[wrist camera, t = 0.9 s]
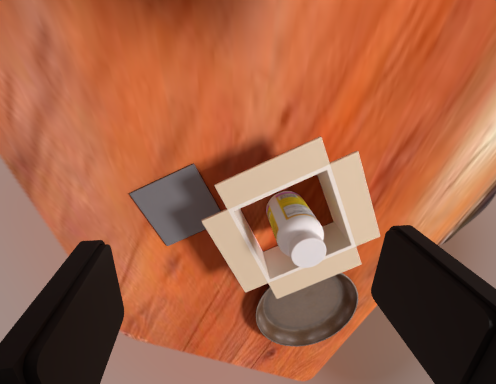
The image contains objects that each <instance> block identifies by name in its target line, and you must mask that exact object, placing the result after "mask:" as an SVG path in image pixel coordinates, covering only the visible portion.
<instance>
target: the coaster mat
mask: <svg viewBox="0 0 496 384" xmlns="http://www.w3.org/2000/svg"><path fill="white" fill-rule="evenodd" d="M130 196H131V197H132V198H133V200H134V201H135V202H136V204H137V205H138V207H139V208H140V209H141V211H142V212H143V213H144V215H145V216H146V218H147V219H148V220H149V222H150V223H151V225H152V226H153V227H154V229H155V230H156V231H157V233H158V234H159V236H160V237H161V238H162V240H163V241H164V242H165V244H166V245H167V246H169V245H171V244H174V243H176V242H178V241H180V240H183V239H185V238H187V237H189V236H192V235H194V234H196V233H198V232H201V231H203V230H205V229H206V228H205V226H204V225H203V223H202V220H203V219H205V218H207V217H209V216H212V215H214V214H216V213H218V212H221V211H220V209H219V207H218V205H217V204H216V202H215V200H214V198H213V197H212V195H211V193H210V191H209V189H208V188H207V186H206V184H205V182H204V181H203V179H202V177H201V175H200V174H199V172H198V170H197V168H196V167H195V165H194V164H191V165H189V166H187V167H185V168H183V169H181V170H179V171H176V172H174V173H172V174H170V175H168V176H166V177H164V178H161V179H159V180H157V181H155V182H153V183H151V184H148V185H146V186H144V187H142V188H140V189H138V190H136V191H133V192H131V193H130Z"/></svg>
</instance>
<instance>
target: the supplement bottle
mask: <svg viewBox="0 0 496 384" xmlns="http://www.w3.org/2000/svg"><path fill="white" fill-rule="evenodd" d="M266 213H267V217H268V220H269V222H270V225H271V228H272V230H273V233H274V236H275V238H276V241H277V244H278V246H279V248H280V250H281V251H282V252H283V253H284V254H285V255H287V256H289V257H291V259H292V261H293V263H294V264H295V265H297V266H299V267H302V268H309V267H313V266H315V265H317V264H319V263H320V262H321V261H322V260H323V259H324V257H325V255H326V246H325V244H324V242H323V239H324V231H323V228H322V226H321V224H320V223H319V221H318V220H317V218H316V217H315V216H314V214H313V213H312V211H311V210H310V208H309V207H308V205H307V204H306V203H305V201H304V200H303V198H302V197H301V196H300V195H299V194H297V193H295V192H292V191H282V192H279V193H277V194H275V195H274V196H273V197H272V198H271V199H270V200H269V202H268V204H267V208H266Z"/></svg>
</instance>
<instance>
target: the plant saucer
mask: <svg viewBox="0 0 496 384" xmlns="http://www.w3.org/2000/svg"><path fill="white" fill-rule="evenodd" d="M357 304H358V292H357V289H356V287H355V285H354V283H353V282H352V281H351V279H350V278H348V277H347V276H346V275H344V274H343V273H339V274H337V275H335V276H332V277H330V278H327V279H325V280H322V281H320V282H318V283H315V284H313V285H310V286H308V287H305V288H303V289H301V290H298V291H296V292H293V293H291V294H288V295H286V296H284V297H281V298H279V299H277V298H276V297H275V295H274V293H273V291H272V289H271V287H270V286H269V287H268V288H267V290H266V291H265V292H264V294H263V295H262V297H261V299H260V301H259V303H258V306H257V309H256V322H257V325H258V328H259V330H260V331H261V333H262V334H263V335H264V336H265V337H266V338H268V339H269V340H271V341H273V342H275V343H277V344H280V345H285V346H307V345H311V344H315V343H318V342H321V341H323V340H326V339H328V338H329V337H331V336H333V335H335V334H336V333H337V332H339V331H340V330H341V329H342V328H344V327H345V326H346V325H347V323H348V322H349V321H350V320H351V318H352V317H353V315H354V313H355V311H356V308H357Z"/></svg>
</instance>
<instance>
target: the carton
mask: <svg viewBox="0 0 496 384" xmlns="http://www.w3.org/2000/svg"><path fill="white" fill-rule="evenodd" d="M314 175H317V176H318V178H319V181H320V184H321V187H322V190H323V193H324V196H325V199H326V201H327V204H328V207H329V210H330V213H331V216H332V219H333V222H332V223H330V224H328V225H325V226H323V227H322V228H323V231H324V239H323V242H324V244H325V246H326V255H325V257H324V259H323V260H322V261H321V262H320V263H319V264H317V265H315V266H313V267H309V268H302V267H299V266H297V265H295V264H294V263H293V261H292V259H291V257H289V256H287V255H285V254H284V253H283V252H282V251H281V250H280V248H279V246H276V247H274V248H271V249H269V250H267V251H264V252H263V251H262V249H261V247H260V245H259V243H258V241H257V239H256V238H255V236H254V234H253V232H252V230H251V228H250V226H249V224H248V222H247V220H246V219H245V217H244V215H243V213H242V211H241V209H240V208H242V207H245V206H247V205H249V204H251V203H254V202H256V201H258V200H260V199H263V198H265V197H267V196H269V195H272V194H274V193H276V192H278V191H281V190H283V189H285V188H287V187H290V186H292V185H294V184H296V183H299V182H301V181H303V180H305V179H308V178H310V177H312V176H314ZM214 186H215V188H216V189H217V191H218V193H219V195H220V197H221V199H222V200H223V202H224V204H225V206H226V208H227V209H225V210H223V211H221V212H218V213H216V214H214V215H212V216H209V217H207V218H205V219H203V220H202V223H203V225H204V226H205V228H206V230H207V231H208V233H209V234H210V236H211V238H212V239H213V241H214V243H215V244H216V246H217V247H218V249H219V251H220V252H221V254H222V255H223V257H224V259H225V260H226V262H227V264H228V265H229V267H230V268H231V270H232V272H233V273H234V275H235V277H236V278H237V280H238V281H239V283H240V285H241V286H242V288H243V289H244V291H245V293H246V292H248V291H251V290H253V289H255V288H258V287H260V286H263V285H265V284H267V283H268V284H269V286H270V287H271V289H272V291H273V293H274V295H275V297H276V298H277V299H279V298H281V297H284V296H286V295H288V294H291V293H293V292H296V291H298V290H301V289H303V288H305V287H308V286H310V285H313V284H315V283H318V282H320V281H322V280H325V279H327V278H330V277H332V276H335V275H337V274H339V273H342V272H344V271H347V270H349V269H352V268H354V267H357V266H359V265H361V261H360V257H359V254H358V251H357V248H356V246H358V245H361V244H363V243H366V242H368V241H370V240H373V239H375V238H377V237H380V233H379V229H378V225H377V222H376V218H375V214H374V210H373V206H372V202H371V198H370V194H369V191H368V187H367V183H366V179H365V175H364V171H363V167H362V164H361V160H360V156H359V152H358V151H355V152H353V153H351V154H348V155H346V156H344V157H342V158H339V159H337V160H335V161H333V162H330V163H329V159H328V156H327V153H326V150H325V147H324V144H323V141H322V137H321V136H320V137H318V138H315V139H313V140H311V141H309V142H307V143H304V144H302V145H300V146H298V147H296V148H293V149H291V150H289V151H287V152H285V153H282V154H280V155H278V156H276V157H274V158H272V159H269V160H267V161H265V162H263V163H261V164H258V165H256V166H254V167H252V168H250V169H247V170H245V171H243V172H241V173H239V174H236V175H234V176H232V177H230V178H228V179H225V180H223V181H221V182H219V183H217V184H214Z"/></svg>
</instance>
